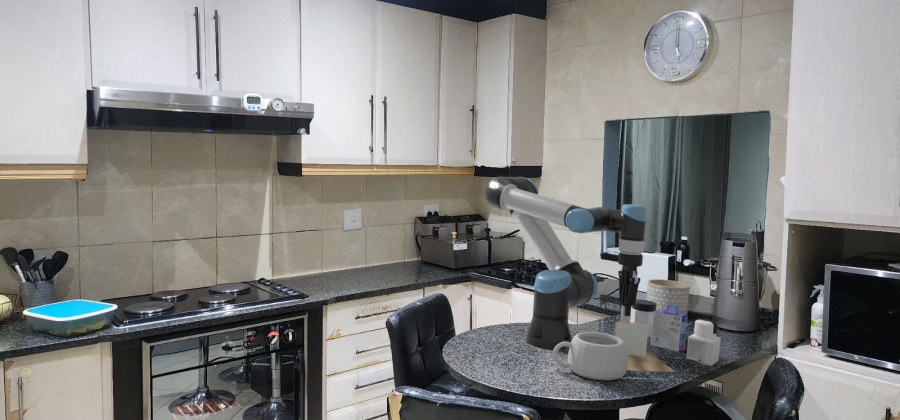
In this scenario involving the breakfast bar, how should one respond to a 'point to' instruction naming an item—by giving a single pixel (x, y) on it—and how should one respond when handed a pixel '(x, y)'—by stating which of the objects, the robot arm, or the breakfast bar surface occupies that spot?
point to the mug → (595, 356)
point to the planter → (668, 294)
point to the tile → (633, 336)
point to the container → (704, 342)
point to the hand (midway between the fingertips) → (625, 324)
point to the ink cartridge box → (669, 329)
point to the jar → (643, 313)
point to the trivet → (646, 363)
